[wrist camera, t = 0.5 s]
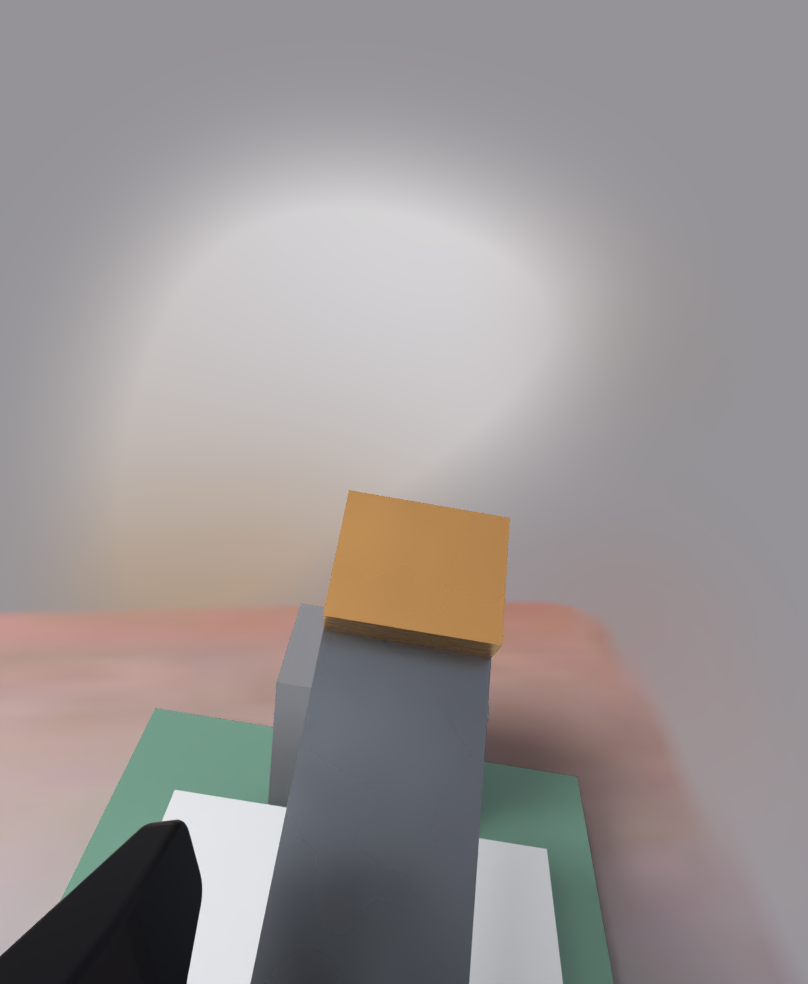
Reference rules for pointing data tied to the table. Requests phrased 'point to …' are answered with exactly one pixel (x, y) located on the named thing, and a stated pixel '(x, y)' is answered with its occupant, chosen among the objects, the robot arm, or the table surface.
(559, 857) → the board
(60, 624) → the table surface
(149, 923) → the robot arm
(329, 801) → the strap
